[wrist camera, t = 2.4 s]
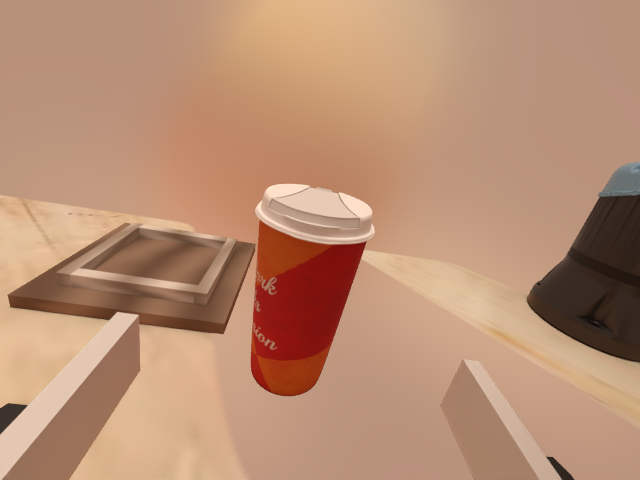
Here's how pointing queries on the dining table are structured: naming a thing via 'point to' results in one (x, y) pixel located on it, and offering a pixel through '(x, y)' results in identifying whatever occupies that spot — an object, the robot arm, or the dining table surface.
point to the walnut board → (146, 278)
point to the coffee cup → (302, 281)
